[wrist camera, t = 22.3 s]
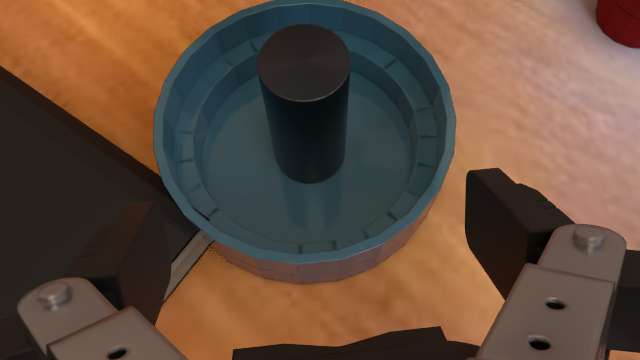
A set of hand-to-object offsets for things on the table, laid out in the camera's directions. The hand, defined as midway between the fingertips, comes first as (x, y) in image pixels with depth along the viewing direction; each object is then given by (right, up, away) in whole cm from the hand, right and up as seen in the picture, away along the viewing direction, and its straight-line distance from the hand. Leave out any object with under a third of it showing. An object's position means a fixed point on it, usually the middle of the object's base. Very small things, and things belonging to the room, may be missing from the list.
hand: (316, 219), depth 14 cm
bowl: (-1, +3, +24) cm, 24 cm away
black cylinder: (-1, +3, +23) cm, 23 cm away
